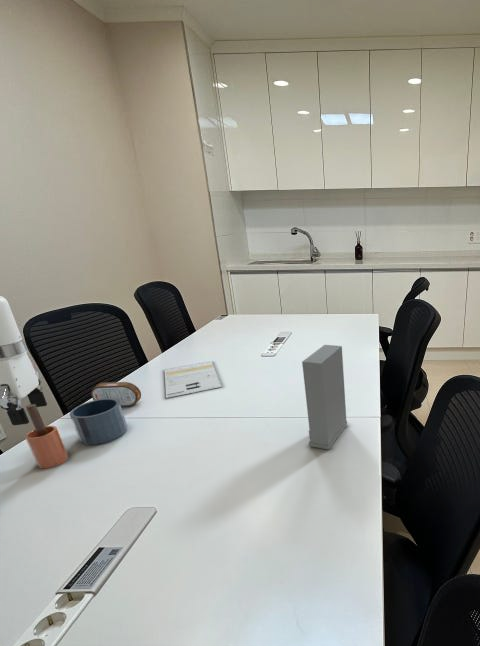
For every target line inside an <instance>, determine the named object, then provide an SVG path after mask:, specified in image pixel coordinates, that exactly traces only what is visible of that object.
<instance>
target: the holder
mask: <svg viewBox="0 0 480 646" xmlns="http://www.w3.org/2000/svg"><path fill="white" fill-rule="evenodd" d="M45 427H46V430H47V432H48V434H46V435H44V436H40V437H38V434H37V432H36V430H35V428H34V429H32V430H30V431H29V432H27V433H26V434H25V435H24V438H25V440H26V443H27V445H28V446H29V449H30V451H31V453H32V456H33V458H34V460H35V462H36V465H37V466H38V468H40V469H50V468H55V467H57V466H60V465H61V464H63V463H65V462H66V461H67V460H68V459H69V454H68V451H67V449H66V447H65V444H64V441H63V440H62V437H61V435H60V432H59V429H58V427H57V426H55V425H45Z"/></svg>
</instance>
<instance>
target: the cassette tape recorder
mask: <svg viewBox="0 0 480 646" xmlns="http://www.w3.org/2000/svg"><path fill="white" fill-rule="evenodd" d="M301 363H302V364H301V365H302V372H303V373H302V374H303V382H304V383H303V384H304V392H305V401H306V409H307V411H306V412H307V420H308V428H309V430H308V437H309V442H308V447H311V448H317V449H324V450H327V451H328V450H330V449H331V448H332V446H333V444H334V443H335V442H336V440H337V439H338V438H339V437H340V435H341V434H342V433H343V432H344V429H345V428H346V426H348V421H347V407H346V406H347V405H346V392H345V391H346V390H345V389H346V388H345V375H344V374H345V373H344V360H343V346H342V345H332V344H323V345H322V346H321V347H320V348H318V349H317V350H315V351H314V352H313V353H312V354H310V355H309V356H308V357H306V358H304V360H303V361H302V362H301Z"/></svg>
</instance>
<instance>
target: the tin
mask: <svg viewBox="0 0 480 646" xmlns="http://www.w3.org/2000/svg"><path fill="white" fill-rule="evenodd" d="M90 395H91V398H92V401H94V400H98V399H106V398H112V399H117V400H118V401H119V402H120V405H121V408H122V407H132V406H135V405H136V404H137V403H138V402H139V401H140V400H141V399H142V392H141V390H140V388H139V387H138V386H137V385H136V384H134V383H132V382H129V381H118V382H117V381H114V382H113V381H112V382H100V383H98V384H96V385H95V386H94V387H93V389H91V392H90Z"/></svg>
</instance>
